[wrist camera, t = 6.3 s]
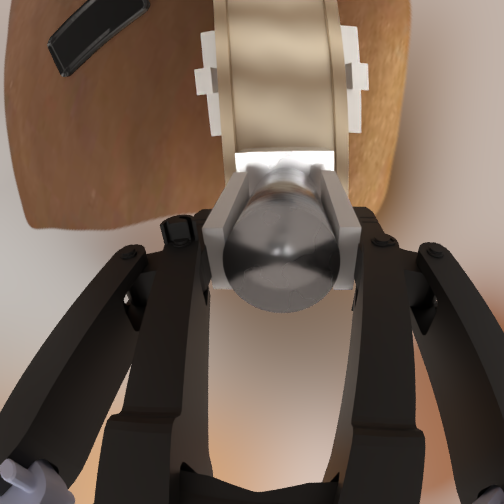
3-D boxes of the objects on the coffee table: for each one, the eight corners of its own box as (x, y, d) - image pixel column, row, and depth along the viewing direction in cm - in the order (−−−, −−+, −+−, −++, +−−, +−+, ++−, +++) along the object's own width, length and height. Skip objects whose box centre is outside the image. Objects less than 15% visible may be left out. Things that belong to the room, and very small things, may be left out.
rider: (244, 148, 21) (184, 180, 9) (325, 146, 20) (375, 176, 8) (249, 224, 23) (207, 330, 11) (325, 223, 22) (357, 332, 11)
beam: (219, -36, 18) (206, -58, 13) (322, -41, 16) (327, -65, 11) (236, 231, 30) (226, 251, 25) (340, 230, 28) (349, 251, 24)
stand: (203, 34, 24) (180, 22, 18) (354, 28, 21) (372, 14, 16) (222, 203, 35) (207, 231, 29) (355, 202, 32) (369, 230, 27)
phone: (45, 42, 23) (126, -31, 18) (50, 42, 24) (131, -29, 19) (63, 80, 26) (150, 6, 21) (68, 79, 27) (154, 8, 22)
